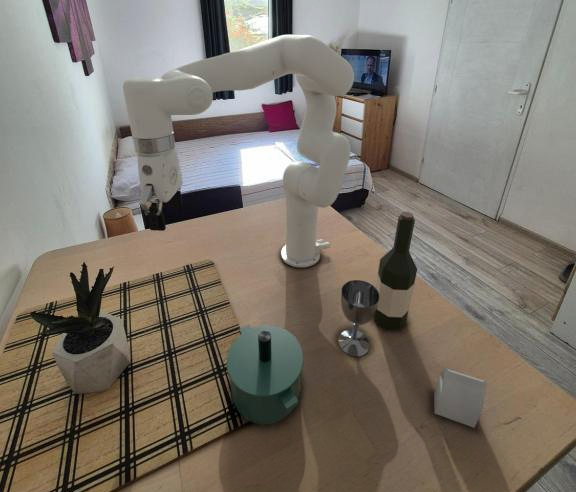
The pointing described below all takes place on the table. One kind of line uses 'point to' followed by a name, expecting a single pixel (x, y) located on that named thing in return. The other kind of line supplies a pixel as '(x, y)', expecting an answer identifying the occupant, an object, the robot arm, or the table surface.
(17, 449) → the table surface
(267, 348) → the lid
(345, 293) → the wine glass
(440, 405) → the white box
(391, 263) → the wine bottle
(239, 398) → the pot
